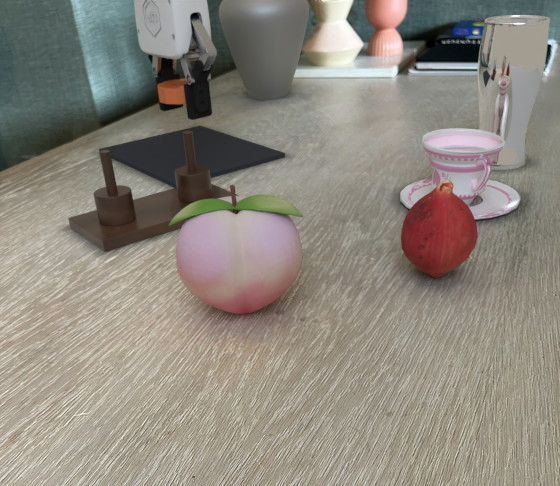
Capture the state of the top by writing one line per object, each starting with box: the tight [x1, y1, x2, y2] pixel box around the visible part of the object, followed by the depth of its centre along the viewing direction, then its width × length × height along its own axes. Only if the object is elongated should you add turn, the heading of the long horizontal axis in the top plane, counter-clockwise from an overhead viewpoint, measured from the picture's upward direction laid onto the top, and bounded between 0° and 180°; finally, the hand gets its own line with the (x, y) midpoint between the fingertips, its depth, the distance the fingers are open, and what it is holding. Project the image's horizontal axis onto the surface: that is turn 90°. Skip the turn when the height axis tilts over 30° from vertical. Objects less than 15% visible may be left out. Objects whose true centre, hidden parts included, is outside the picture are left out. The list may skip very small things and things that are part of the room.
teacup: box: [399, 127, 522, 221], centre depth 67 cm, size 12×12×6 cm
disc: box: [157, 77, 188, 105], centre depth 83 cm, size 6×6×2 cm
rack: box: [67, 131, 240, 253], centre depth 67 cm, size 8×16×8 cm, turn 128°
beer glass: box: [476, 14, 551, 171], centre depth 74 cm, size 7×7×15 cm
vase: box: [218, 0, 310, 101], centre depth 107 cm, size 14×14×25 cm
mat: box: [98, 125, 286, 188], centre depth 87 cm, size 20×16×1 cm
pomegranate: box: [400, 180, 479, 279], centre depth 53 cm, size 6×6×8 cm
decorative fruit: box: [169, 184, 304, 315], centre depth 49 cm, size 9×8×10 cm
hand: (185, 111), depth 84 cm, fingers closed on disc, 6 cm apart
